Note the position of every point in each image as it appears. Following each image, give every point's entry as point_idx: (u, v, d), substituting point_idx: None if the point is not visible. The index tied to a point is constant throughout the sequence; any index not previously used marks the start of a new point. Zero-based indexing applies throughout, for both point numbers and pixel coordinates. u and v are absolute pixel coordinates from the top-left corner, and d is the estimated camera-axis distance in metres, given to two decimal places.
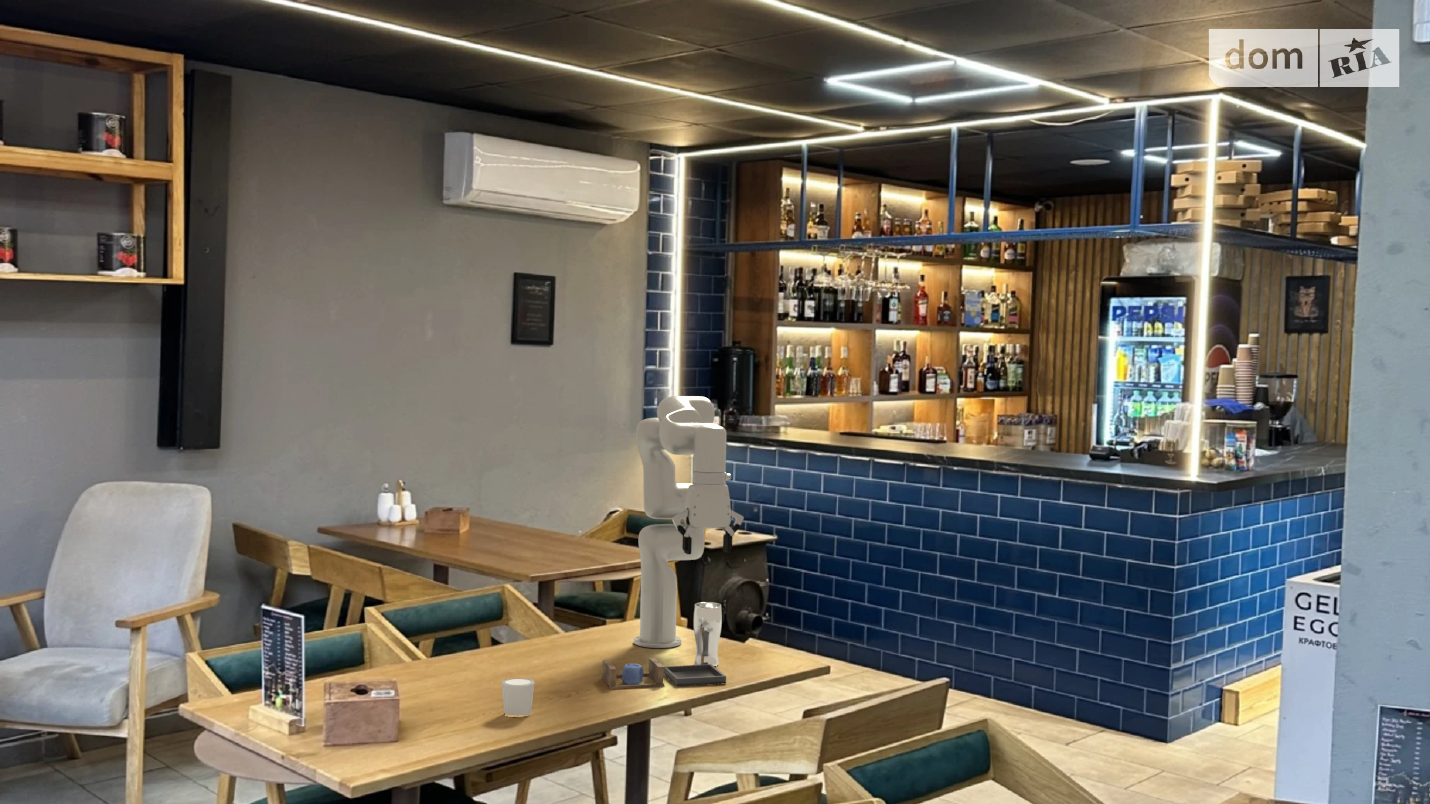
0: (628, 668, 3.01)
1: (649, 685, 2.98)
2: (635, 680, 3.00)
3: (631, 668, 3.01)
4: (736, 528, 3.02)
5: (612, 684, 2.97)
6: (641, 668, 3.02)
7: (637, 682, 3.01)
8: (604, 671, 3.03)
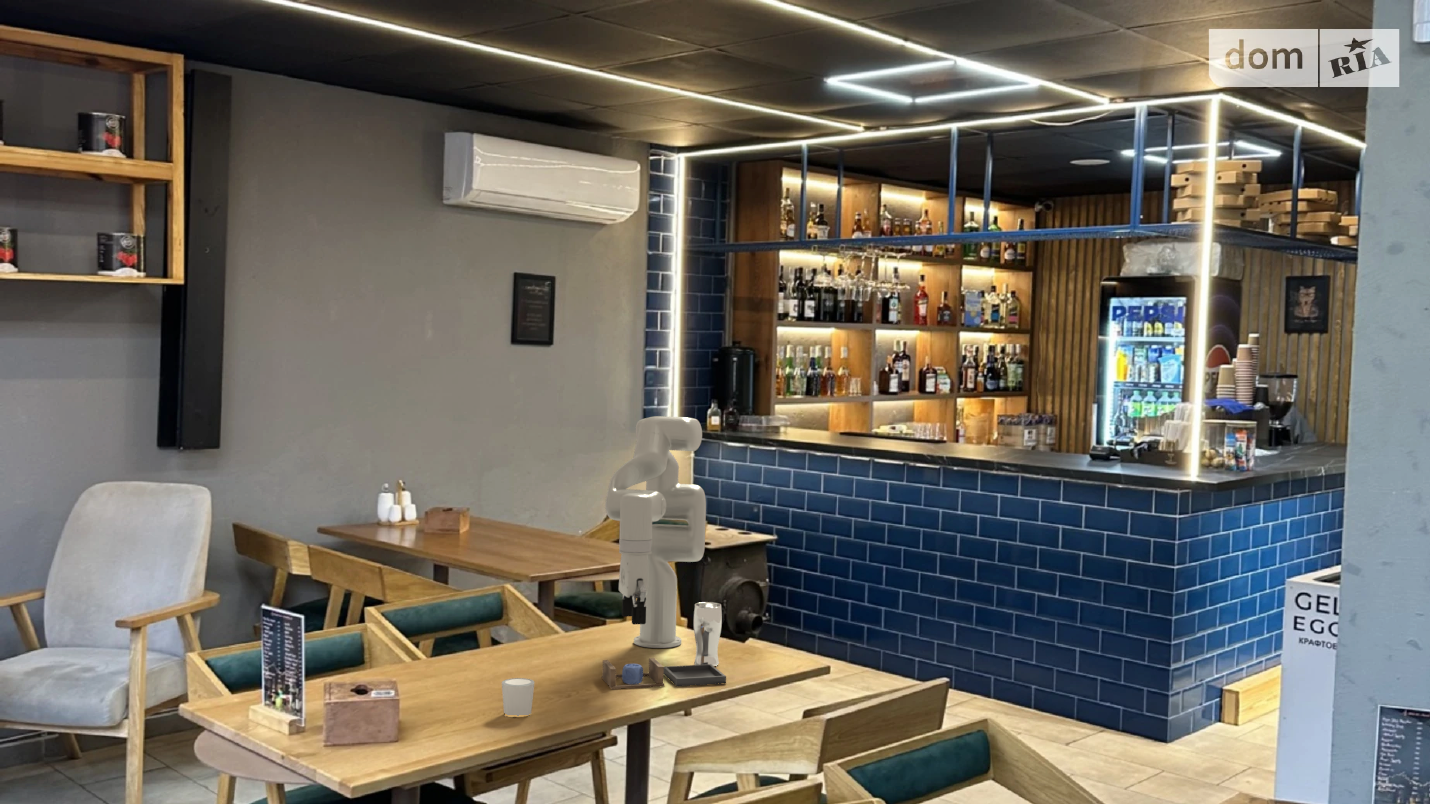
0: (628, 668, 3.01)
1: (649, 685, 2.98)
2: (635, 680, 3.00)
3: (631, 668, 3.01)
4: None
5: (612, 684, 2.97)
6: (641, 668, 3.02)
7: (637, 682, 3.01)
8: (604, 671, 3.03)
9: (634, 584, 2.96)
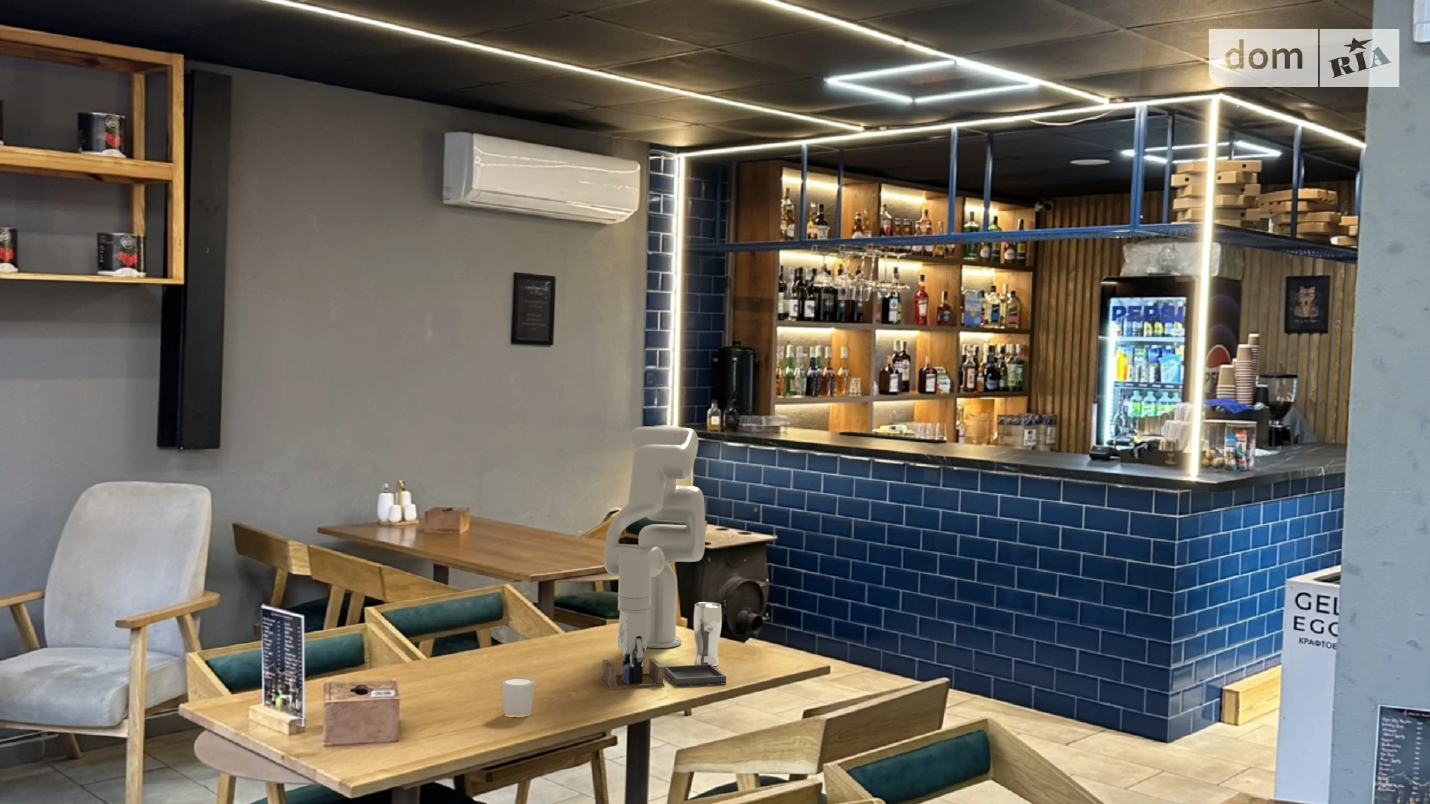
0: (628, 668, 3.01)
1: (649, 685, 2.98)
2: None
3: None
4: None
5: (612, 684, 2.97)
6: None
7: None
8: (604, 671, 3.03)
9: (633, 642, 2.97)
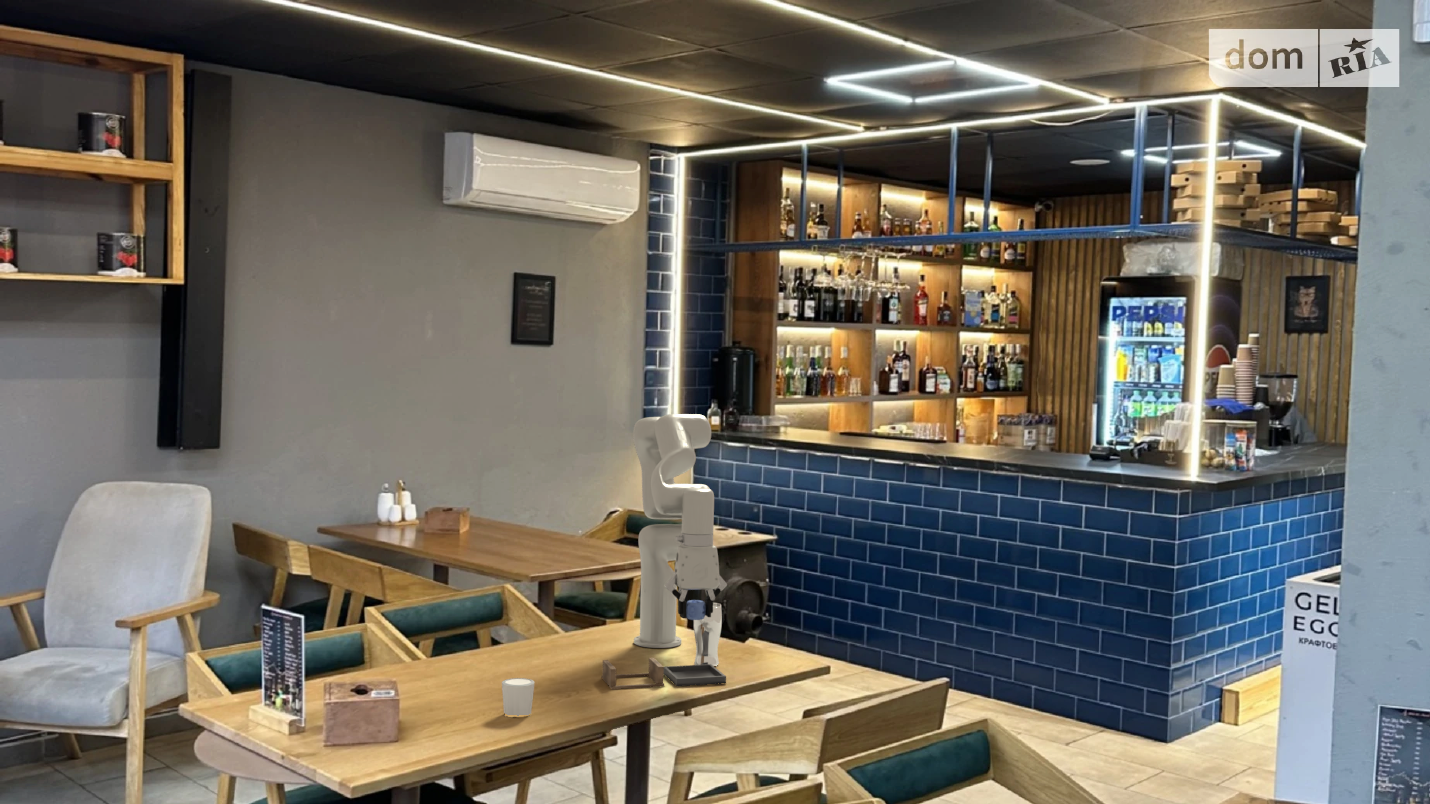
0: (703, 603, 3.06)
1: (649, 685, 2.98)
2: (705, 613, 3.07)
3: (704, 602, 3.06)
4: None
5: (612, 684, 2.97)
6: None
7: None
8: (604, 671, 3.03)
9: None
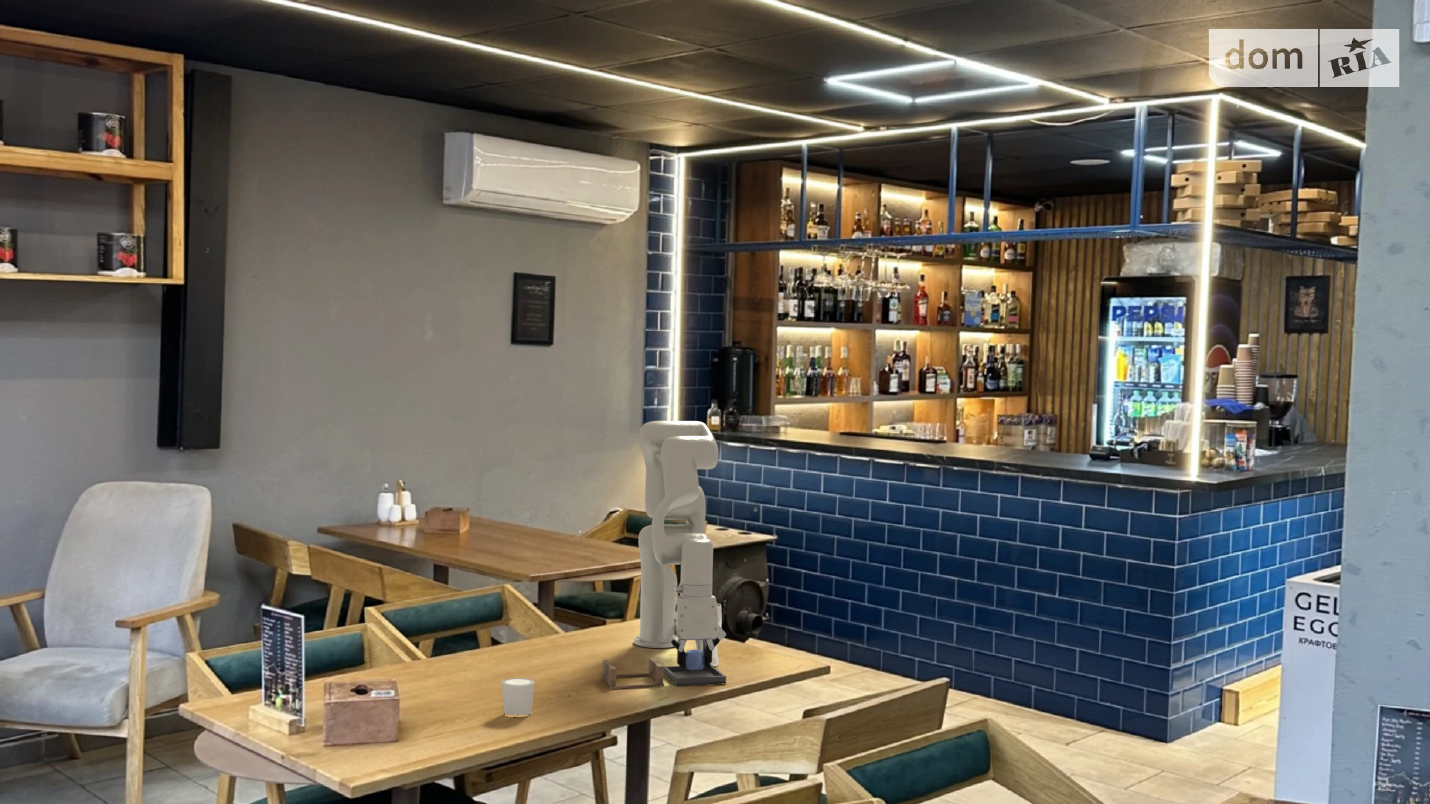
0: (702, 653, 3.06)
1: (649, 685, 2.98)
2: (704, 663, 3.08)
3: (703, 652, 3.07)
4: None
5: (612, 684, 2.97)
6: None
7: None
8: (604, 671, 3.03)
9: None
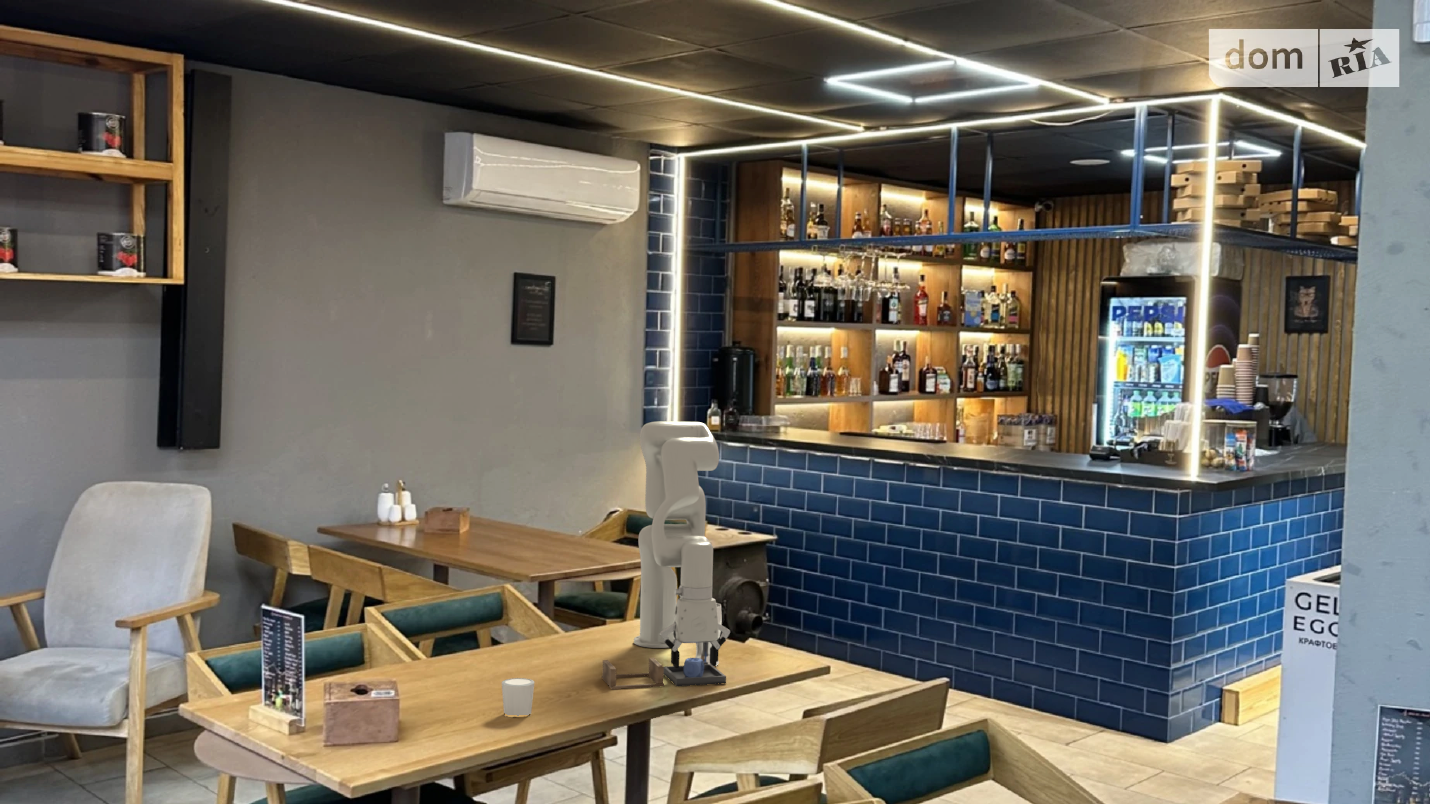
0: (701, 661, 3.06)
1: (649, 685, 2.98)
2: (703, 671, 3.08)
3: (702, 660, 3.07)
4: None
5: (612, 684, 2.97)
6: None
7: None
8: (604, 671, 3.03)
9: None
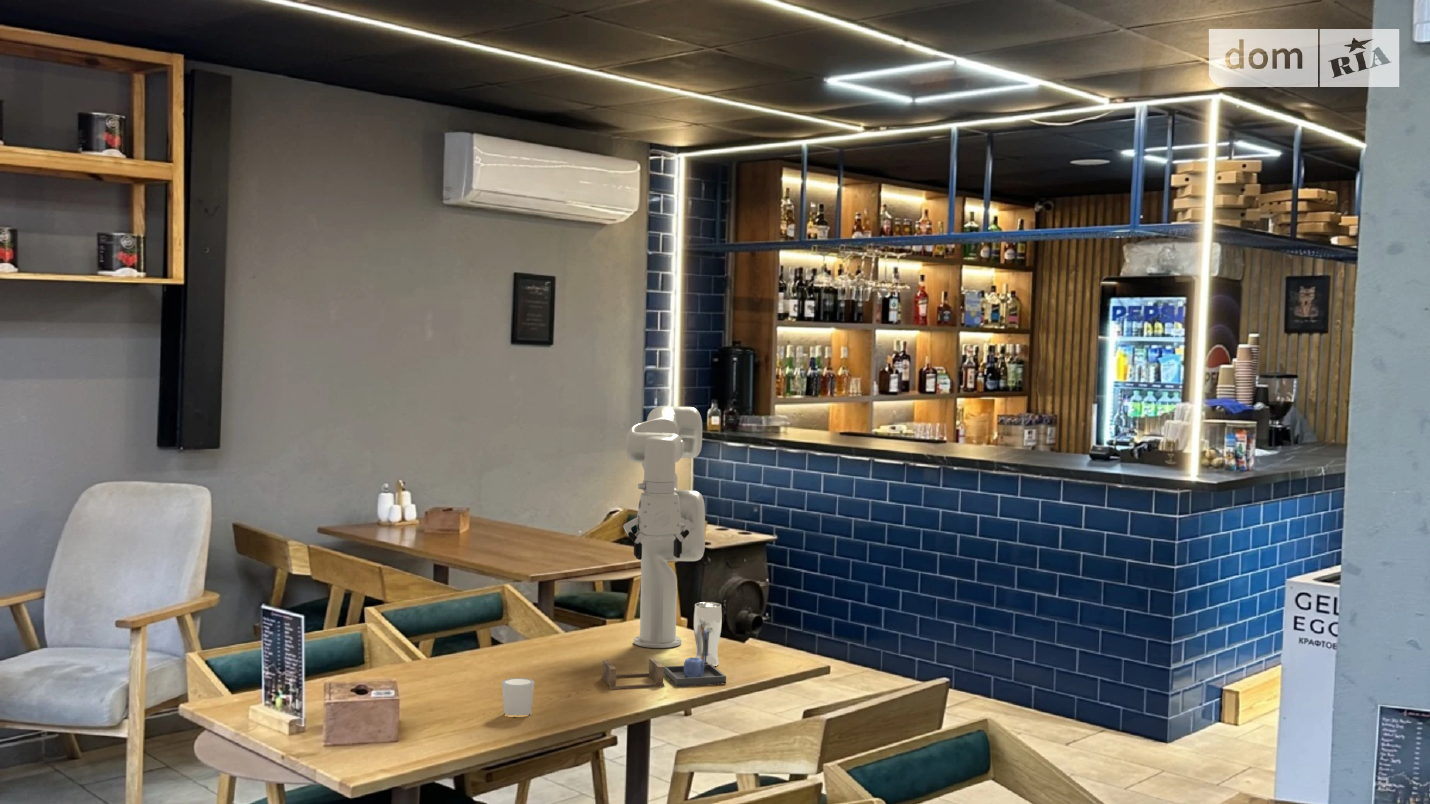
0: (701, 661, 3.06)
1: (649, 685, 2.98)
2: (703, 671, 3.08)
3: (702, 660, 3.07)
4: None
5: (612, 684, 2.97)
6: None
7: None
8: (604, 671, 3.03)
9: None
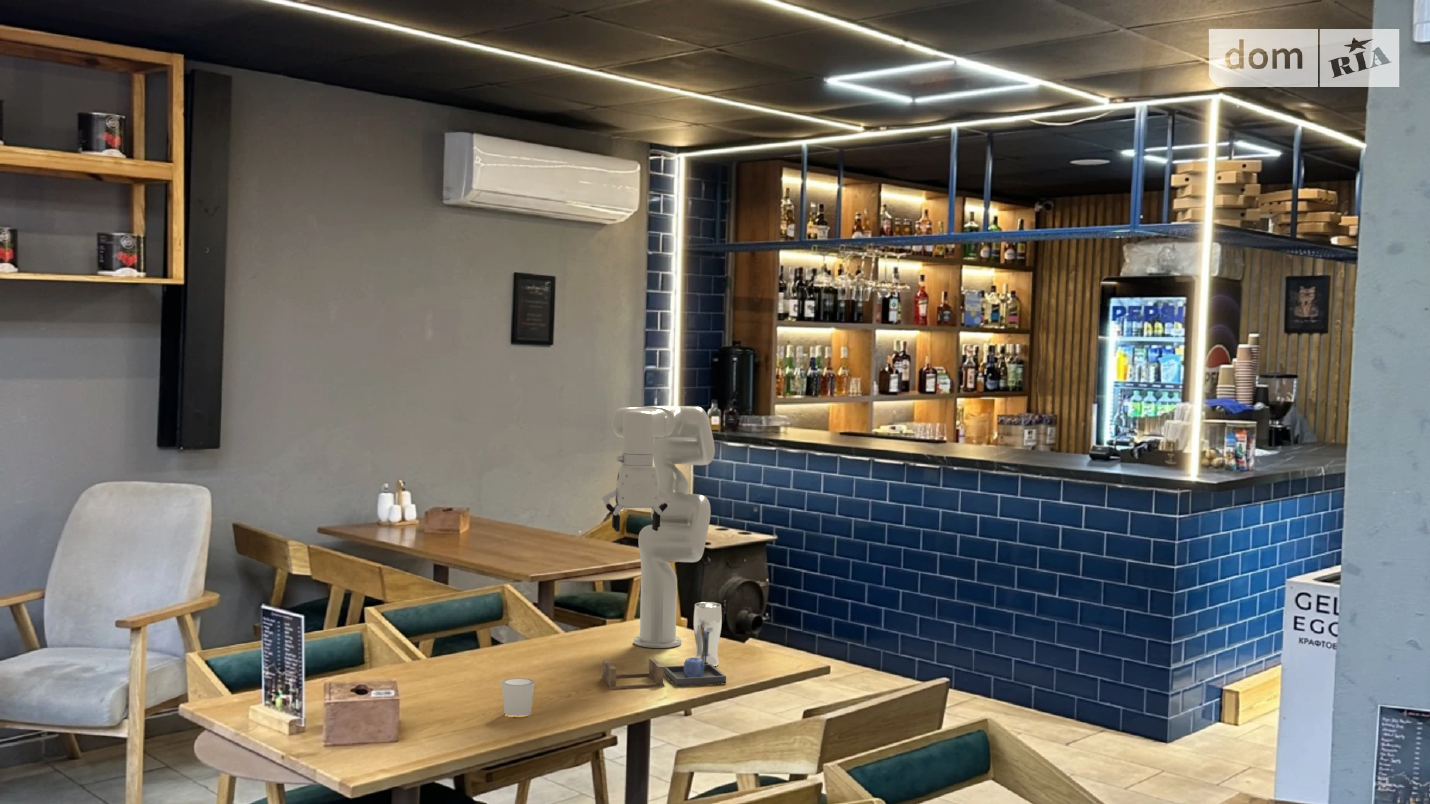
0: (701, 661, 3.06)
1: (649, 685, 2.98)
2: (703, 671, 3.08)
3: (702, 660, 3.07)
4: None
5: (612, 684, 2.97)
6: None
7: None
8: (604, 671, 3.03)
9: None
